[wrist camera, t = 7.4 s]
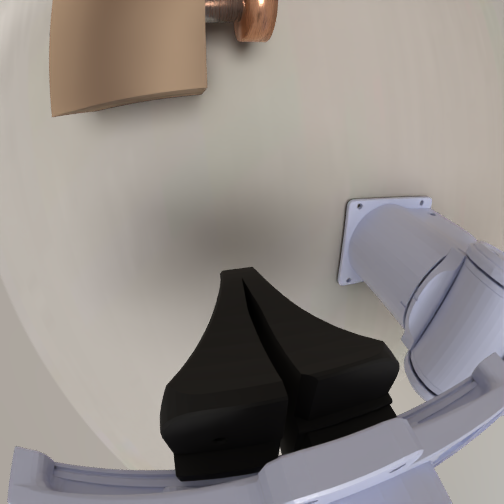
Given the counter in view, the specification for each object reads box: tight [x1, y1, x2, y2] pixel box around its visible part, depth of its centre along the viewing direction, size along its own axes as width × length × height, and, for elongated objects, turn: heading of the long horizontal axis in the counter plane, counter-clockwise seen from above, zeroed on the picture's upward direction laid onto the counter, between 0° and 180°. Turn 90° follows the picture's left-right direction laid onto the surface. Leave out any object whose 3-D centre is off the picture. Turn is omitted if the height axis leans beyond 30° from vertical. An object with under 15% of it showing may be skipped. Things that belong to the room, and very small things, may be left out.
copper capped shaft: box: [205, 0, 278, 42], centre depth 10 cm, size 11×4×4 cm, turn 92°
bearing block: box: [49, 0, 207, 117], centre depth 10 cm, size 7×10×7 cm
